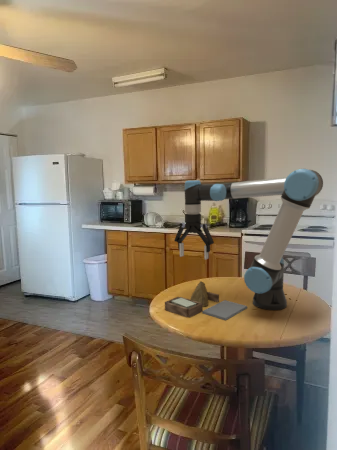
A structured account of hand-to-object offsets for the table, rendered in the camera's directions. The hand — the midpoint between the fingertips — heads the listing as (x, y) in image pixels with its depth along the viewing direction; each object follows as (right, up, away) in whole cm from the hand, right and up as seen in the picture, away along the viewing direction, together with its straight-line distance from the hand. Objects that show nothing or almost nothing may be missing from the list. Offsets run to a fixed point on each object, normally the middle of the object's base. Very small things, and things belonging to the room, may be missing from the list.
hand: (193, 257), depth 162 cm
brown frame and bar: (-1, -22, -4) cm, 23 cm away
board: (+13, -23, -11) cm, 28 cm away
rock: (+2, -22, -1) cm, 22 cm away
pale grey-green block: (-5, -23, -9) cm, 26 cm away
